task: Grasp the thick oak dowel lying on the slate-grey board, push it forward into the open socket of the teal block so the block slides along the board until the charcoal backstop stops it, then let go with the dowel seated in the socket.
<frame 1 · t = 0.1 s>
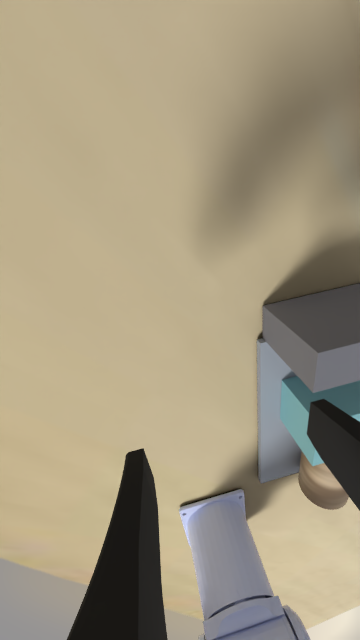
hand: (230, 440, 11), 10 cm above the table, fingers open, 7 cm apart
socket block: (339, 409, 22), point 3 cm above the table, slide at 0.0 cm
board: (303, 409, 26), on the table
dowel: (311, 442, 28), point 1 cm above the table, touching board
backstop wall: (314, 310, 21), on the table
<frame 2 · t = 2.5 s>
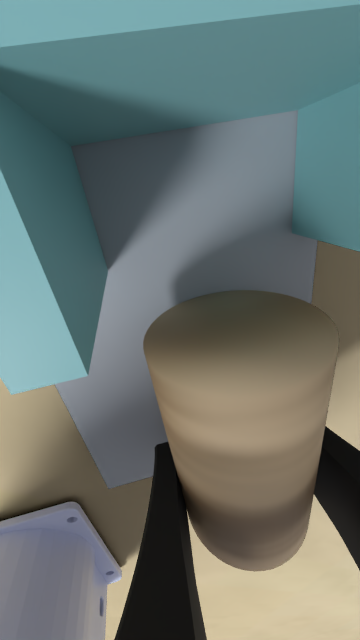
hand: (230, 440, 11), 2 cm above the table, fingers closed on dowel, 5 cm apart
socket block: (224, 146, 5), point 3 cm above the table, slide at 0.0 cm
board: (171, 267, 9), on the table
dowel: (217, 381, 11), point 1 cm above the table, touching board, gripper
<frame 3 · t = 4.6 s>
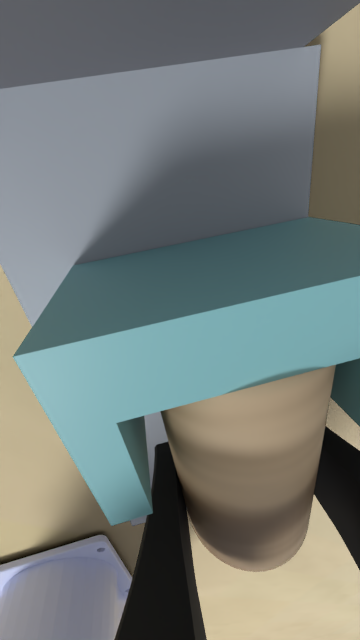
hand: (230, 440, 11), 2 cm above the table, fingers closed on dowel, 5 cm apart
socket block: (228, 343, 7), point 3 cm above the table, slide at 0.2 cm, touching dowel
board: (187, 369, 12), on the table
dowel: (217, 382, 11), point 1 cm above the table, touching gripper, socket block
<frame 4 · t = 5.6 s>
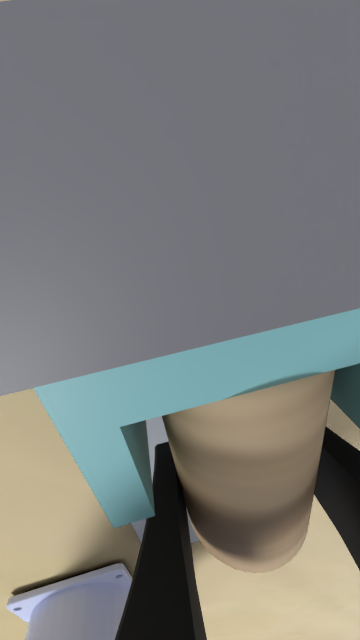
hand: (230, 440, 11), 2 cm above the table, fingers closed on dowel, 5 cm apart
socket block: (230, 346, 7), point 3 cm above the table, slide at 4.4 cm, touching dowel
board: (199, 432, 14), on the table
dowel: (217, 383, 11), point 1 cm above the table, touching gripper, socket block
backstop wall: (156, 194, 8), on the table
when the fingers open (2 cm above the table, at t = 7.0 s): dowel stays where it is, resting on board.
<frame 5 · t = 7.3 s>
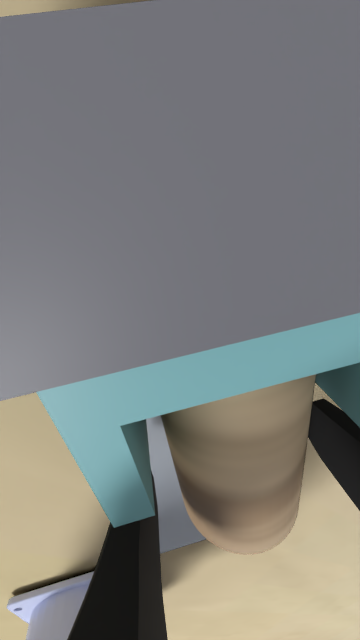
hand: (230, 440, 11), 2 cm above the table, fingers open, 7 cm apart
socket block: (230, 345, 7), point 3 cm above the table, slide at 4.5 cm
board: (199, 433, 14), on the table
dowel: (213, 376, 11), point 1 cm above the table, touching board
backstop wall: (157, 196, 8), on the table
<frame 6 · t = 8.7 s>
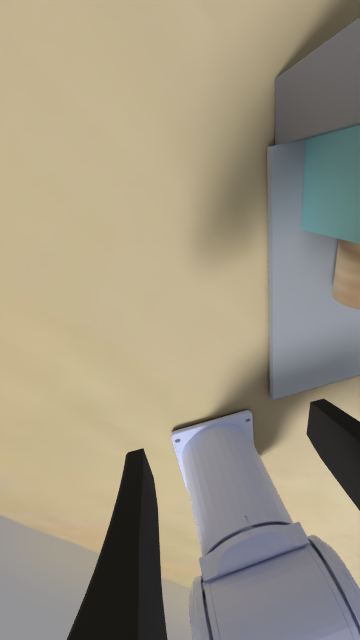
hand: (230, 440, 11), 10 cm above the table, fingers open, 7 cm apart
board: (328, 286, 20), on the table
dowel: (353, 230, 18), point 1 cm above the table, touching board
backstop wall: (348, 100, 15), on the table
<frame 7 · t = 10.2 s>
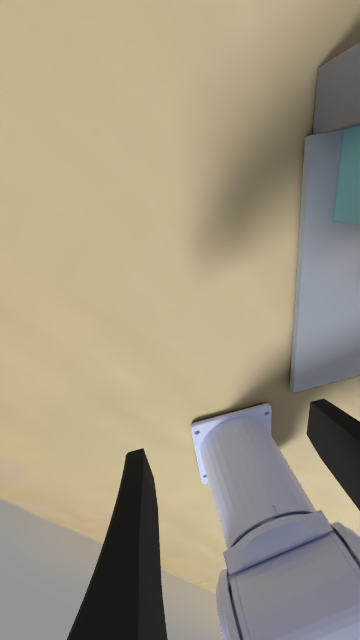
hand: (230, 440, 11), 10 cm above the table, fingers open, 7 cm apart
board: (354, 279, 20), on the table
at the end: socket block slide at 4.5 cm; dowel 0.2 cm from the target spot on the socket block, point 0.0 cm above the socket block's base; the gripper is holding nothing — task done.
